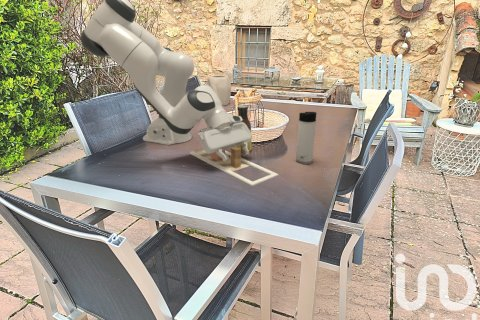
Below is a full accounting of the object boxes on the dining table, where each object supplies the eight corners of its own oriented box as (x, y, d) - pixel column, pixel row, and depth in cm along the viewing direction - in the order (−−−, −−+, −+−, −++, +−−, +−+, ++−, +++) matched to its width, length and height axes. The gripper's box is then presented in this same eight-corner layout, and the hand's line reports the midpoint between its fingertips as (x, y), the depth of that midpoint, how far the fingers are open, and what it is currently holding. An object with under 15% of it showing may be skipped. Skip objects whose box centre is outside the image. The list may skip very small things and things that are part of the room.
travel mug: (303, 166, 122) (307, 114, 115) (292, 160, 128) (296, 110, 120) (316, 163, 125) (321, 112, 117) (305, 157, 130) (309, 108, 123)
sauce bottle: (253, 151, 136) (254, 105, 129) (248, 156, 131) (249, 108, 123) (238, 149, 138) (238, 103, 131) (233, 155, 133) (233, 107, 125)
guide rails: (189, 156, 131) (189, 152, 130) (214, 149, 138) (213, 145, 137) (252, 190, 105) (252, 184, 104) (278, 179, 112) (278, 174, 111)
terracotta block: (210, 157, 127) (210, 147, 125) (219, 154, 129) (218, 145, 127) (216, 160, 124) (216, 150, 122) (225, 157, 126) (224, 148, 125)
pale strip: (192, 154, 133) (191, 135, 130) (208, 149, 138) (207, 131, 134) (232, 174, 115) (232, 153, 111) (249, 168, 119) (249, 148, 116)
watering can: (198, 108, 207) (196, 78, 200) (217, 100, 230) (216, 72, 223) (219, 110, 202) (218, 79, 194) (237, 102, 224) (237, 74, 217)
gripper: (199, 125, 111) (217, 160, 108) (244, 115, 123) (261, 146, 120) (193, 134, 116) (210, 168, 113) (236, 124, 128) (253, 154, 125)
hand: (237, 157), depth 117 cm, fingers open, 8 cm apart
